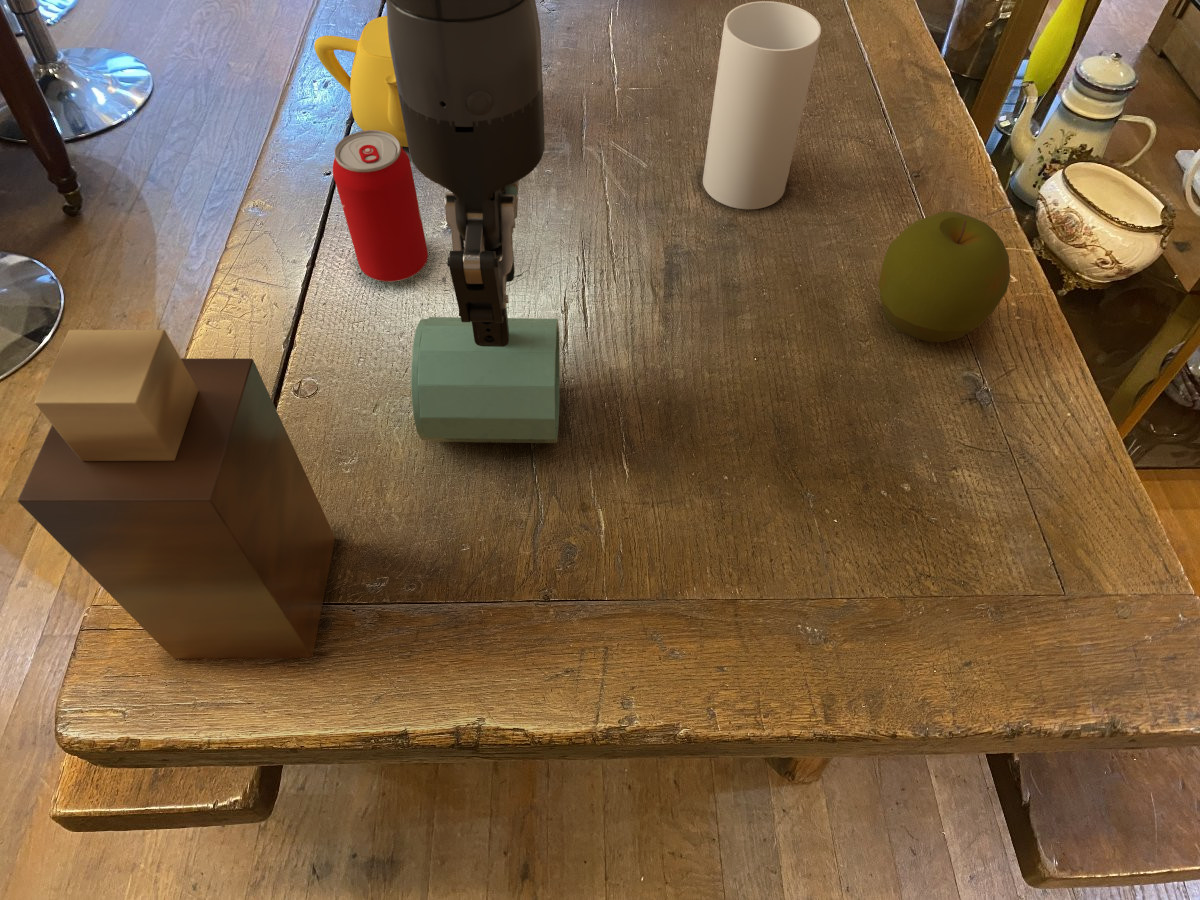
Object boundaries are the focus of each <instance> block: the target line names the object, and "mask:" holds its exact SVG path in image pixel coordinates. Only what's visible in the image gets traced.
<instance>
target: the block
mask: <svg viewBox="0 0 1200 900" xmlns="http://www.w3.org/2000/svg"><path fill="white" fill-rule="evenodd" d="M197 393H198V388H197V387H196V385H195V383H194V381H193V380H192V378H191V376H190V374H189V372H188V371H187V369H186V367H185V365H184V364H183V362H182V360H181V357H180V355H179V353H178V351H177V350H176V347H175V345H174V344H173V342H172V340H171V338H170V337H169V335H168V333H167V332H166V330H165V329H69V330H68V332H67V334H66V336H65V337H64V340H63V342H62V344H61V346H60V347H59V350H58V353H57V354H56V357H55V359H54V360H53V363H52V365H51V367H50V369H49V371H48V373H47V375H46V377H45V380H44V381H43V384H42V386H41V388H40V390H39V392H38V394H37V396H36V398H35V400H34V405H35V406H36V407H37V408H38V410H39V411H40V412H41V413H42V414H43V416H44V417H45V418H46V420H47V421H49V423H50V425H51V426H52V425H53V426H54V428H55V429H56V430H57V431H58V433H59V434H60V435H61V436H62V437H63V439H64V440H65V441H66V442H67V444H68V445H69V446H70V447H71V448H72V450H73V451H74V452H75V453H76V455H77V456H78V457H79V458H80V459H81V460H82V461H174V460H175V458H176V455H177V452H178V450H179V447H180V444H181V441H182V438H183V435H184V432H185V429H186V426H187V423H188V420H189V417H190V414H191V411H192V408H193V405H194V402H195V399H196V396H197Z"/></svg>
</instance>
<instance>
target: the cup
mask: <svg viewBox="0 0 1200 900" xmlns="http://www.w3.org/2000/svg"><path fill="white" fill-rule="evenodd" d="M722 29H723V30H722V35H721V36H722V37H721V43H720V50H719V58H718V65H717V72H716V81H715V87H714V94H713V101H712V102H713V103H712V109H711V115H710V123H709V131H708V136H707V137H708V138H707V143H706V145H707V146H706V152H705V161H704V166H703V173H702V174H703V175H702V185H703V188H704V190H705V192H706V193H707V194H708V195H709V197H711V198H712V199H713V200H714V201H716V202H718V203H720V204H722V205H725V206H727V207H730V208H734V209H738V210H739V209H740V210H759V209H763V208H766V207H770V206H772V205H774V204H775V203H777V202H778V201H780V199H781V198H782V197H783V196H784V193H785V191H786V186H787V182H788V178H789V173H790V169H791V166H792V165H791V164H792V160H793V155H794V152H795V147H796V143H797V140H798V139H797V138H798V134H799V130H800V125H801V122H802V117H803V114H804V113H803V112H804V109H805V105H806V100H807V95H808V92H809V87H810V83H811V80H812V79H811V78H812V73H813V69H814V66H815V60H816V57H817V52H818V48H819V43H820V39H821V32H822V26H821V24H820V22H819V21H818V19H817V18H816V17H815V15H813V14H811V13H810V12H809V11H807V10H805V9H803V8H801V7H798V6H796V5H793V4H789V3H785V2H780V1H771V0H764V1H762V0H760V1H752V2H746V3H743V4H741V5H738V6H736V7H733V8H732V9H731V10H730V11H729V12H728V13H727V14H726V16H725V18H724V23H723V28H722Z"/></svg>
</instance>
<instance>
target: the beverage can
mask: <svg viewBox="0 0 1200 900" xmlns="http://www.w3.org/2000/svg"><path fill="white" fill-rule="evenodd" d="M332 175H333V179H334V182H335V186H336V189H337V193H338V196H339V199H340V204H341V207H342V210H343V214H344V217H345V222H346V224H347V228H348V232H349V235H350V239H351V243H352V245H353V249H354V253H355V255H356V260H357V263H358V266H359V268H360V270H361V271H362V272H363V274H364V275H366V276H367V277H369V278H370V279H372V280H376V281H379V282H385V283H395V282H401V281H404V280H407V279H410V278H412V277H413V276H416V275H417V274H418V273H419V272H420V271H421V270H422V269H423V268H424V267H425V266H426V264H427V262H428V259H429V251H428V246H427V241H426V236H425V231H424V226H423V220H422V215H421V211H420V210H421V209H420V205H419V201H418V196H417V195H418V194H417V190H416V184H415V179H414V175H413V169H412V164H411V160H410V158H409V155H408V154H407V153H406V151H405V149H403V147H401V146H400V143H399V141H398V140H397V139H396V138H395V137H394V136H393V135H391V134H389V133H386V132H383V131H378V130H366V131H363V130H360V131H356V132H354V133H350V134H349V135H347V136H345V137H344V138H342V139H341V140H340V141H338V142H337V144H336V146H335V147H334V159H333V163H332Z"/></svg>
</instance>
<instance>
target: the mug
mask: <svg viewBox="0 0 1200 900" xmlns="http://www.w3.org/2000/svg"><path fill="white" fill-rule="evenodd" d="M485 251H495V252H496V256H498V255H501V254H502V247H498V248H496V249H492V250H490V249H485ZM507 283H508V282H507V275H506V285H507ZM508 328H509V341H508V344H507V345H506V346H503V347H487V346H479V345H477V344H476V343H475V341H474V334H473V327H472V322H471V321H470V322H462V321H461V316H458V317H457V316H456V317H454V316H453V317H452V316H451V317H449V316H429V317H428V318H422V319H420V320H419V321H418V324H417V326H416V329H415V332H414V337H413V341H412V342H413V343H412V350H411V351H412V352H411V362H410V363H411V364H410V390H411V391H410V392H411V407H412V415H413V420H414V421H413V422H414V425H415V429H416V432H417V435H418V437H419V438H420V439H421V440H422V441H429V442H431V443H436V442H437V443H498V444H499V443H504V444H507V443H511V444H558V438H559V422H560V421H559V420H560V389H561V388H560V387H561V385H560V384H561V383H560V381H561V380H560V379H561V374H560V373H561V372H560V371H561V366H560V365H561V364H560V363H561V361H560V360H561V358H560V355H561V354H560V353H561V351H560V350H561V349H560V347H561V346H560V324H559V319H558V318H532V317H531V318H527V317H525V318H524V317H522V318H521V317H520V318H519V317H508Z"/></svg>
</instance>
